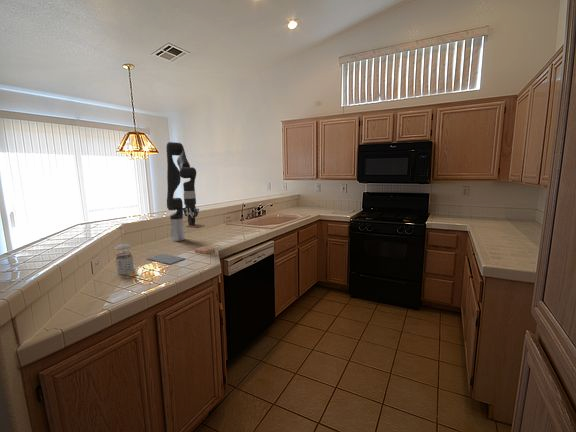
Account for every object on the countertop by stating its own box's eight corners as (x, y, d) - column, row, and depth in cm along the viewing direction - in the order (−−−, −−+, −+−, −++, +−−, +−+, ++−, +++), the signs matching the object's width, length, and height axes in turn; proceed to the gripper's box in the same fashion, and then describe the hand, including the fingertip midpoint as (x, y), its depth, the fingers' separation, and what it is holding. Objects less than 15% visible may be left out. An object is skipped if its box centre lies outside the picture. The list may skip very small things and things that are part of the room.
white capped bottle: (131, 266, 160) (126, 224, 156) (140, 271, 153) (135, 226, 149) (112, 271, 152) (106, 227, 148) (120, 276, 145) (115, 229, 141)
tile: (194, 249, 186) (205, 251, 182) (203, 246, 193) (214, 248, 188) (194, 252, 187) (205, 254, 182) (203, 249, 194) (214, 251, 189)
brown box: (186, 226, 188) (185, 217, 187) (194, 225, 194) (193, 215, 193) (196, 228, 183) (196, 218, 182) (204, 226, 189) (204, 216, 188)
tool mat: (146, 259, 173) (146, 258, 173) (162, 254, 183) (162, 253, 183) (169, 264, 162) (169, 263, 162) (185, 259, 172) (185, 258, 172)
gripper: (201, 197, 186) (203, 222, 189) (187, 196, 193) (188, 221, 196) (192, 198, 180) (194, 224, 183) (178, 197, 187) (180, 223, 190)
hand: (191, 222), depth 190 cm, fingers closed on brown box, 3 cm apart
